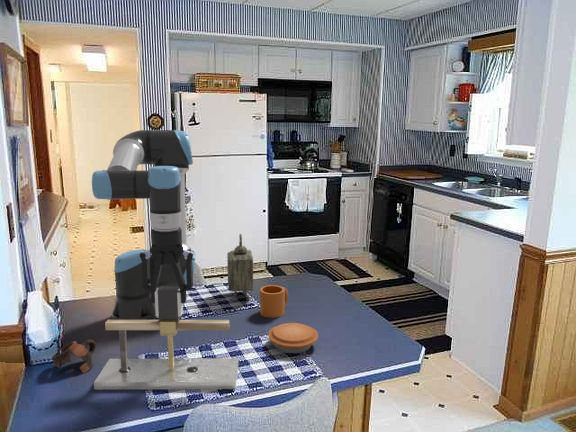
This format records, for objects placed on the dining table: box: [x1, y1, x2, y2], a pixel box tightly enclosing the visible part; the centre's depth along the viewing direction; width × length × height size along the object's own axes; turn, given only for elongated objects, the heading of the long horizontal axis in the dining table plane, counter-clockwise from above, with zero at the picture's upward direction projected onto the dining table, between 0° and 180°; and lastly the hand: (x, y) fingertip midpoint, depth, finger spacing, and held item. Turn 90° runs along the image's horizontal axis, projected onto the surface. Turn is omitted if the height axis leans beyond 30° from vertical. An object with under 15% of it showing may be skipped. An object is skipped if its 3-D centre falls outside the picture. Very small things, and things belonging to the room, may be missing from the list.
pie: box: [267, 322, 319, 354], centre depth 144 cm, size 15×16×5 cm
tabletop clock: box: [226, 233, 254, 302], centre depth 180 cm, size 14×9×25 cm, turn 9°
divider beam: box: [104, 319, 231, 371], centre depth 123 cm, size 2×32×14 cm, turn 92°
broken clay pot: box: [51, 338, 97, 374], centre depth 130 cm, size 12×10×8 cm
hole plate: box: [93, 357, 240, 391], centre depth 125 cm, size 12×36×2 cm, turn 92°
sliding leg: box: [157, 286, 181, 369], centre depth 122 cm, size 5×5×23 cm
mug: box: [259, 284, 289, 319], centre depth 168 cm, size 9×12×9 cm
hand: (169, 314), depth 122 cm, fingers closed on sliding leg, 5 cm apart
